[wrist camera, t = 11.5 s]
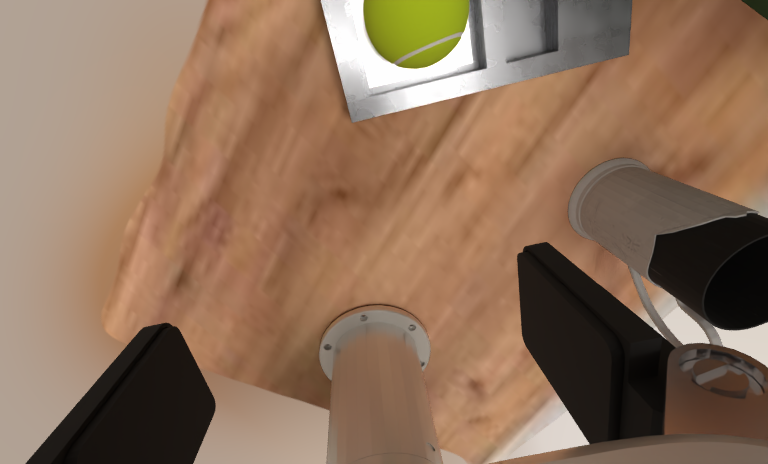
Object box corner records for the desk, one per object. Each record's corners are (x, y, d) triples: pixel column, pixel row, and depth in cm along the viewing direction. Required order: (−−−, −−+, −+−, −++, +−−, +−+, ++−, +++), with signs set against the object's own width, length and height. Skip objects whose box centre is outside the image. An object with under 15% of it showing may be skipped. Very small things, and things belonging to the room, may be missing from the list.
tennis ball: (464, 46, 29) (496, 43, 23) (382, 81, 30) (390, 88, 23) (438, -57, 26) (466, -93, 20) (347, -16, 27) (345, -38, 20)
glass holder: (659, 149, 35) (854, 207, 21) (642, 274, 41) (785, 379, 28) (569, 168, 35) (706, 237, 21) (565, 289, 41) (669, 403, 28)
